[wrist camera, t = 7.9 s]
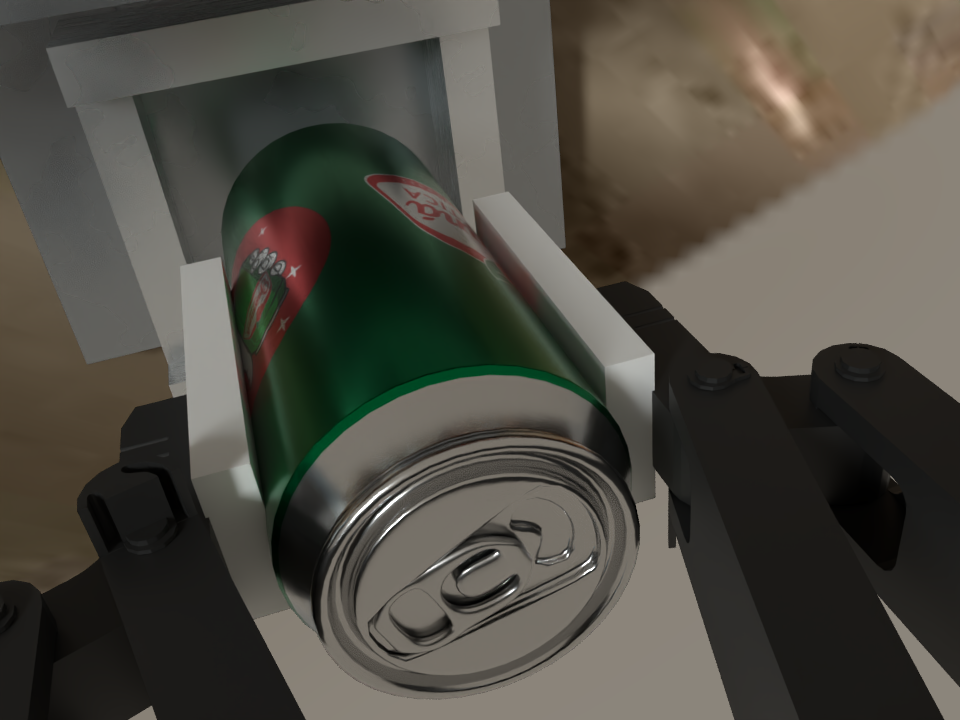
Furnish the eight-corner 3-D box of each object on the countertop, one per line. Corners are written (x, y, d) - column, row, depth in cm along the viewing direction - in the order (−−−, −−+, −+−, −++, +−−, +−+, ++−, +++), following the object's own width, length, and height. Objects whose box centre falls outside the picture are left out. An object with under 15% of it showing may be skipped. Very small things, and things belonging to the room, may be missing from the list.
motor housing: (98, 358, 26) (75, 596, 18) (-202, -373, 17) (-500, -522, 9) (658, 222, 30) (841, 374, 22) (656, -451, 21) (970, -608, 13)
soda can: (472, 246, 23) (716, 585, 13) (301, 355, 23) (412, 772, 13) (367, 69, 20) (580, 333, 10) (171, 195, 20) (189, 578, 10)
